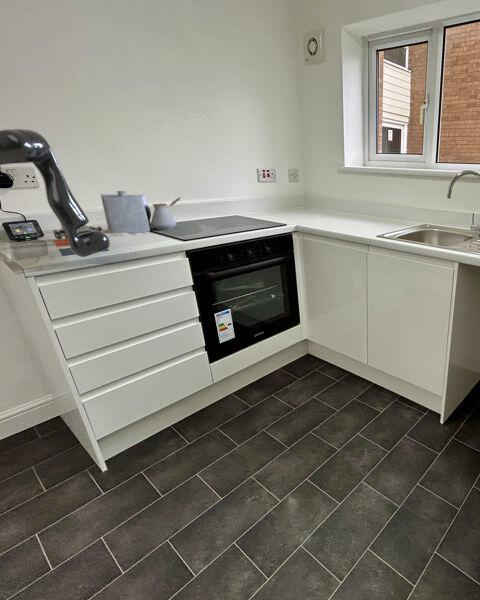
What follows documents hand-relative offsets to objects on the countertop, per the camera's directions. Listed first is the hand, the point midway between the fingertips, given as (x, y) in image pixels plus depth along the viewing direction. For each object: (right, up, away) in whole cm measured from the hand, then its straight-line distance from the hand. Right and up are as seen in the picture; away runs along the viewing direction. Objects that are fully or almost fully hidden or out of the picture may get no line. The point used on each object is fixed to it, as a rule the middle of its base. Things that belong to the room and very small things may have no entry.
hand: (76, 229), depth 140 cm
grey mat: (+3, -8, 0) cm, 9 cm away
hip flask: (-5, +6, +35) cm, 36 cm away
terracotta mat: (-11, -3, +12) cm, 16 cm away
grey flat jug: (-10, +8, +42) cm, 44 cm away
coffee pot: (+5, +11, +51) cm, 52 cm away
